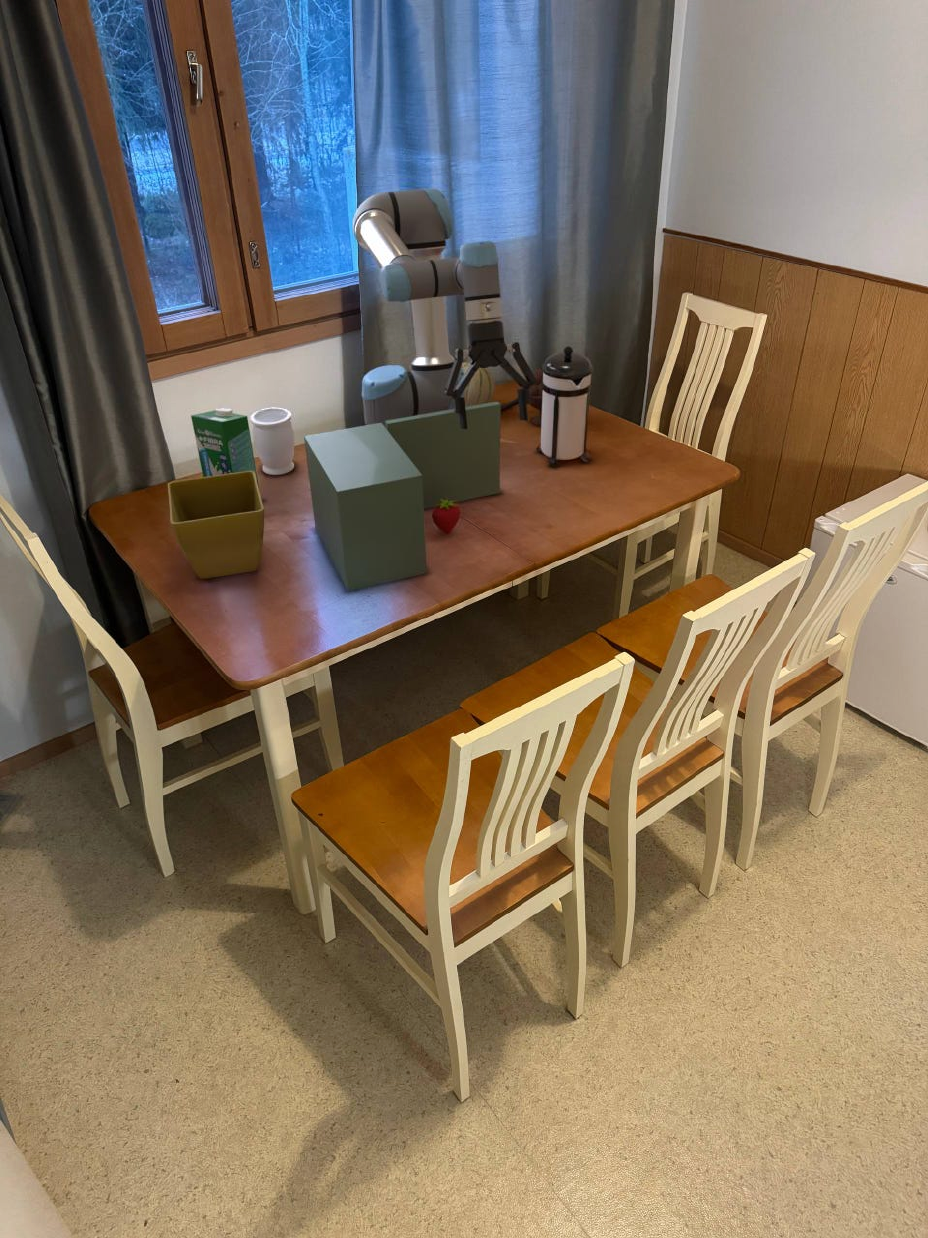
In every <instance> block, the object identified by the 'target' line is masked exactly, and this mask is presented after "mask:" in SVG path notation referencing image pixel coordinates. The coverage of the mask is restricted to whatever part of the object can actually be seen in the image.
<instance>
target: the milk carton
mask: <svg viewBox="0 0 928 1238" xmlns="http://www.w3.org/2000/svg"><path fill="white" fill-rule="evenodd" d="M190 418H191V423H192V428H193V434H194V438H195V442H196V448H197V452H198V457H199V462H200V463H199V464H200V468H201V472H202V473H201V474H202V477H209V476H216V475H223V474H230V473H238V472H244V471H254V472H255V475H256V480H257V484H258V488H259V489H260V485H259V478H258V474H257V467H256V462H255V461H256V460H255V455H254V450H253V449H254V448H253V443H252V436H251V430H250V425H249V419H248V415H243V414H240V413H239V414H238V413H233V409H232V408H228V407H217V408H214V410H210V411H206V412H202V413H197V414H196V413H195V414H192V415H190ZM259 492H260V493H261V491H260V490H259Z"/></svg>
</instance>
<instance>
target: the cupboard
mask: <svg viewBox="0 0 928 1238" xmlns="http://www.w3.org/2000/svg"><path fill="white" fill-rule="evenodd" d="M303 440H304V447H305V456H306V463H307V473H308V479H309V487H310V488H309V489H310V495H311V504H312V512H313V520H314V527H315V528H314V529H315V531H316V533H317V535H318V536H319V539H320V541H321V542H322V545H323V547H324V548H325V550H326V552H327V554H328V556H329V558H330V560H331V562H332V564H333V565H334V567H335V569H336V571H337V573H338V575H339V577H340V579H341V581H342V583H343V585H344V587H345V588H346V591H347V592H350V591H354V590H359V589H364V588H368V587H371V586H372V587H373V586H376V585H380V584H385V583H390V582H395V581H398V580H404V579H408V578H411V577H417V576H420V575H425V574H427V573H428V571H427V568H428V567H427V548H426V547H427V546H426V528H425V527H426V525H425V523H426V522H425V508H424V500H423V480H422V479H423V478H422V474H421V473H420V472H419V470H418V469H417V468H416V466H415V465H414V464H413V463H412V461H411V460H410V459H409V457H408V456H407V455H406V454H405V452H404V451H403V450H402V448H401V447H400V446H399V445H398V443H397V442H396V441H395V439H394V438H393V437H392V436H391V434H390V433H389V432H388V430H387V429H386V428H385V427H384V425H383V424H382V423H376V424H371V425H365V424H364V425H360V426H354V427H349V428H343V429H336V430H331V431H324V432H320V433H319V432H318V433H313V434H307V435H303Z"/></svg>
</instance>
